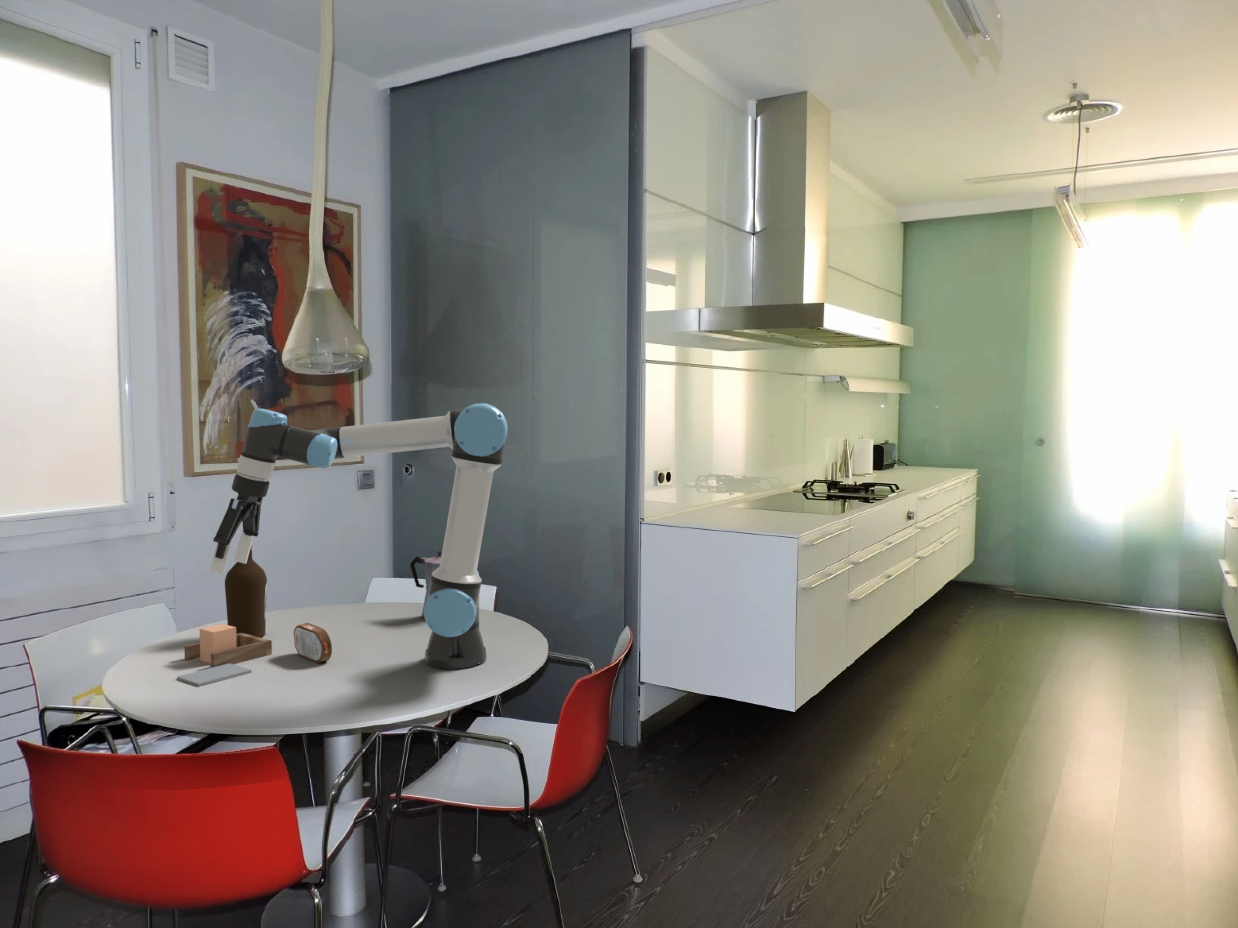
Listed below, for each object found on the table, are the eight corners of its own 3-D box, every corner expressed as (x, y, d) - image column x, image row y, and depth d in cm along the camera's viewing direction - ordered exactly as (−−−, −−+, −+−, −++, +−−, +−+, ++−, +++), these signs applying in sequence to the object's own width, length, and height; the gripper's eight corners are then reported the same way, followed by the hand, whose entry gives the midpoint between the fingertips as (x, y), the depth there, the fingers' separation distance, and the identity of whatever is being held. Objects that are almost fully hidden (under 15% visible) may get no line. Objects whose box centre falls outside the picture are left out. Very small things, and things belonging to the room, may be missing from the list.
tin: (333, 663, 217) (332, 630, 217) (321, 666, 215) (320, 632, 215) (303, 651, 228) (302, 619, 227) (291, 654, 225) (291, 621, 225)
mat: (251, 672, 210) (251, 669, 210) (199, 686, 199) (199, 683, 199) (229, 665, 215) (229, 663, 215) (177, 679, 204) (177, 676, 204)
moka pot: (458, 621, 261) (457, 554, 260) (406, 620, 261) (405, 553, 260) (464, 613, 270) (464, 548, 269) (413, 612, 271) (413, 548, 269)
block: (236, 658, 221) (236, 627, 220) (214, 664, 216) (213, 632, 215) (222, 654, 224) (222, 623, 223) (200, 660, 219) (199, 628, 219)
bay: (271, 654, 225) (271, 640, 225) (214, 668, 212) (214, 654, 212) (241, 645, 232) (241, 632, 232) (184, 659, 219) (184, 645, 219)
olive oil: (234, 643, 234) (232, 550, 233) (219, 635, 242) (218, 545, 240) (274, 636, 242) (272, 546, 240) (259, 629, 249) (257, 541, 248)
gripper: (256, 469, 212) (233, 554, 213) (214, 475, 187) (188, 571, 188) (287, 477, 212) (264, 562, 213) (249, 485, 187) (223, 581, 188)
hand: (228, 566), depth 200 cm, fingers open, 13 cm apart
